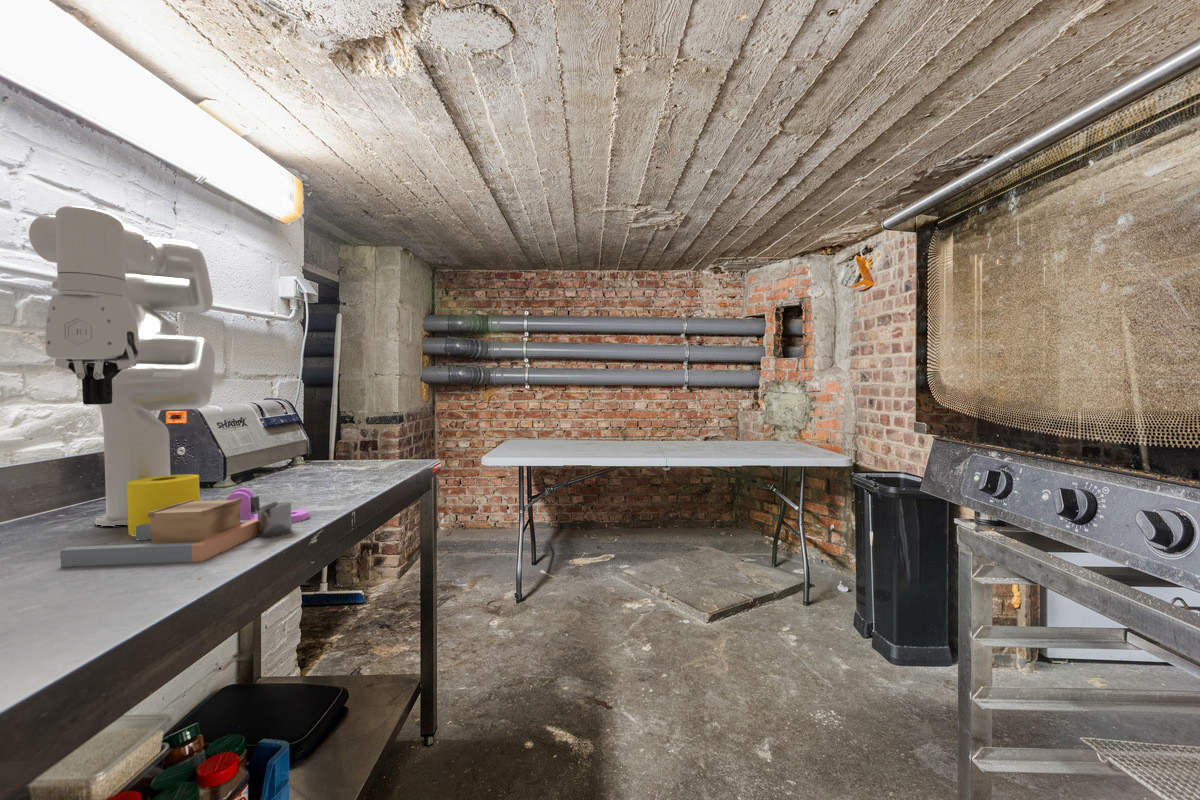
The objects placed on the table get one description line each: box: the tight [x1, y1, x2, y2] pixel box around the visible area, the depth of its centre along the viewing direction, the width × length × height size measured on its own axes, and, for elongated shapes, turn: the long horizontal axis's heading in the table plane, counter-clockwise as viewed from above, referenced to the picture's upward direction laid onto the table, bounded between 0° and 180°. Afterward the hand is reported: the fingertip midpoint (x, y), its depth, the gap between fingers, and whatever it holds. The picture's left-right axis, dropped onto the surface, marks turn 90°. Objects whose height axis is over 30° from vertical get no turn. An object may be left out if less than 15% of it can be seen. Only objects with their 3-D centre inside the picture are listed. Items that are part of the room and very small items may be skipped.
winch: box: [250, 495, 293, 538], centre depth 83 cm, size 9×5×8 cm, turn 5°
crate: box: [148, 498, 242, 544], centre depth 78 cm, size 8×8×7 cm
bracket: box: [225, 487, 310, 523], centre depth 93 cm, size 13×6×7 cm, turn 121°
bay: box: [59, 520, 258, 568], centre depth 77 cm, size 14×20×2 cm
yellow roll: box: [127, 473, 201, 535], centre depth 89 cm, size 10×10×9 cm
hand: (98, 403), depth 76 cm, fingers closed
